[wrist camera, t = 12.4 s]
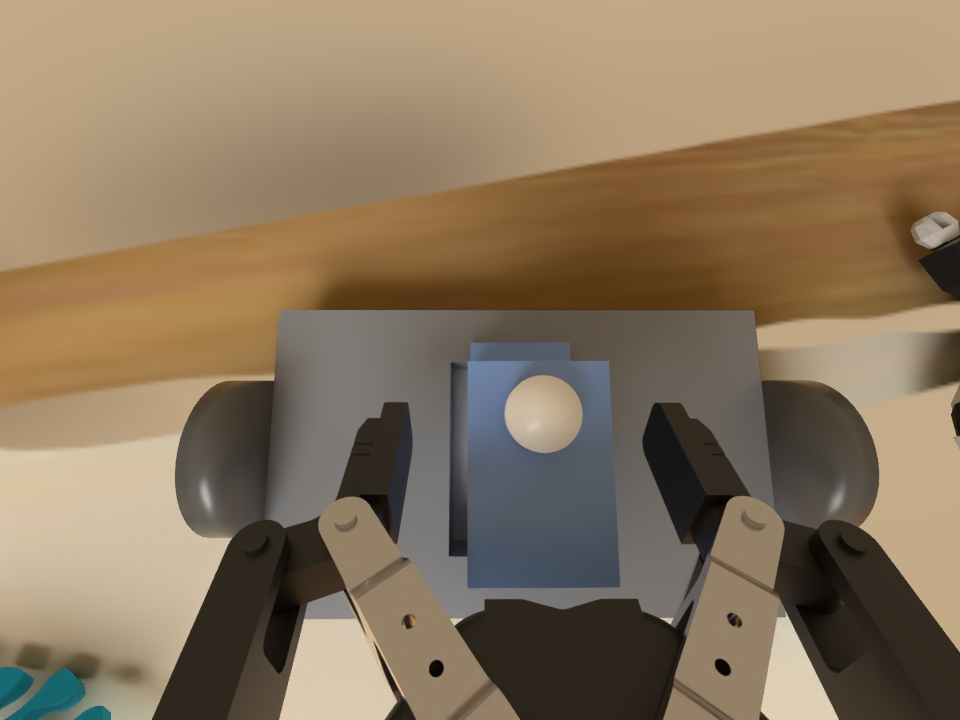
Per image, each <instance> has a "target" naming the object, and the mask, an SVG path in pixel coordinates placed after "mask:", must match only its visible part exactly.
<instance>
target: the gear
mask: <svg viewBox="0 0 960 720" xmlns="http://www.w3.org/2000/svg"><path fill="white" fill-rule="evenodd" d="M33 680H34V678H32V677H31V676H30V675H28V674H27V673H26V672H24V671H23V670H21V669H18V668H13V667H0V709H2V708H4V707H5V706H7V705H9V704H10V703H12V702H14V701H15V700H17V699H18V698H20V697H21V696H22V695H23V694H24V693H25V692H26V691H27V690H28V689H29V688H30V686H31V684H32V683H33ZM84 695H85V687H84V685H83V683H82V682H81V680H80V679H79V678H77V677H76V676H75V675H74V674H73V673H72V672H71V671H69V670H68V669H67V668H65V669H62V670H60V671H59V672H57V673H55V674H54V675H53V676H52V677H50V678H49V679H48V680H47V681H46V683H45V684H44V685H43V687H42V688H41V689H40V691H39V692H38V693H37V694H36V695H35V696H34V697H33V698H32V699H31V700H30V701H29V702H28V703H27V704H26V705H24V706H23V707H22V708H21V709H19V710H18V711H17V712H16V713H14V714H13V715H11V716H9V717H8V718H6V719H5V720H38V719H39V718H41V717H42V716H44V715H47V714H50V713H55V712H60V711H64V710H67V709H69V708H71V707H72V706H74V705H75V704H76V703H78V702H79V701H80V700H81V699H82V698H83V696H84ZM75 720H111V712H110V711H108V710H107V709H106V708H105V707H103V706H95V707H92V708H90V709H88V710H86V711H85V712H83V713H82V714H81V715H79V716H78V717H77V718H76V719H75Z"/></svg>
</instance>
